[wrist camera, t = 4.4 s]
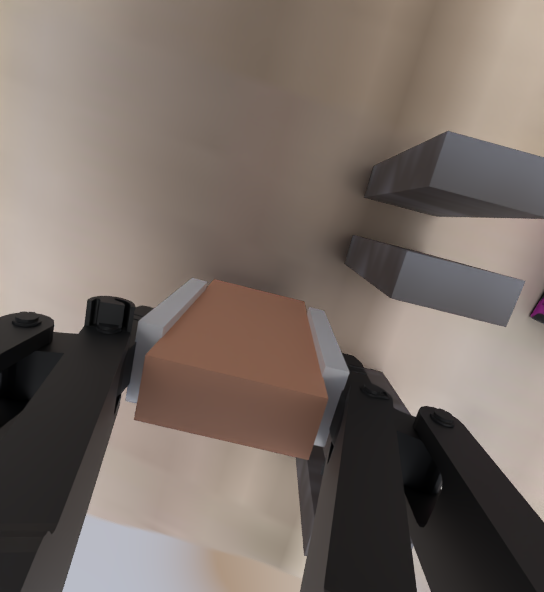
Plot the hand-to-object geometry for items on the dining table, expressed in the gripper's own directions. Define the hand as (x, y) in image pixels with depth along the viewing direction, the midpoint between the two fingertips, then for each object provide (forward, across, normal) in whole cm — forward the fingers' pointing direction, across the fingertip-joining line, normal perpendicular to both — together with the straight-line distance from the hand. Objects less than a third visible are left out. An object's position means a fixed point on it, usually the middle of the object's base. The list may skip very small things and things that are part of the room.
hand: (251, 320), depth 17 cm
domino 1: (+2, 0, 0) cm, 2 cm away
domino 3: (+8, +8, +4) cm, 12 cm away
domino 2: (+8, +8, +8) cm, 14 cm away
